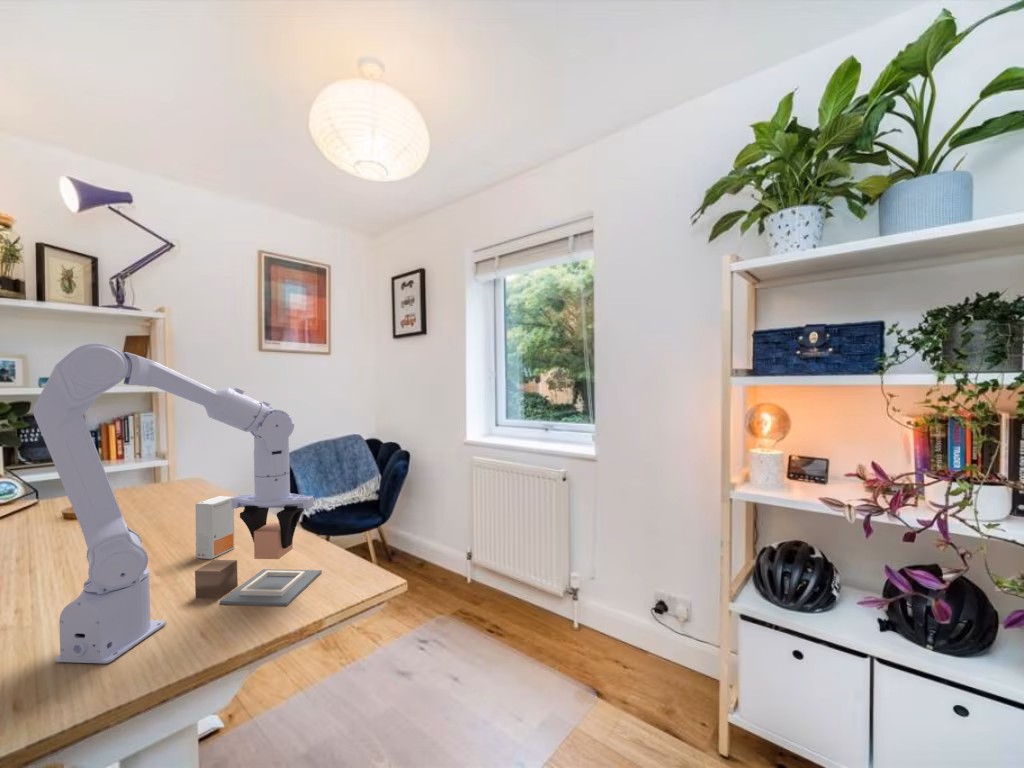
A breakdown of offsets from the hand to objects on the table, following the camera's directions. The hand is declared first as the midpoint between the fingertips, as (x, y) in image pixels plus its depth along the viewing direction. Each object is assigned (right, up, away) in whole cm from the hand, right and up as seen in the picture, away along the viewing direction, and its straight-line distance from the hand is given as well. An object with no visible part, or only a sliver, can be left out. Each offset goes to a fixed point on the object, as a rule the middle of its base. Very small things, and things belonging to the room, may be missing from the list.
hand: (273, 546), depth 79 cm
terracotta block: (0, -2, 0) cm, 2 cm away
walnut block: (-10, -8, -1) cm, 13 cm away
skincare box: (-21, -8, +15) cm, 27 cm away
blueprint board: (0, -8, 0) cm, 8 cm away
